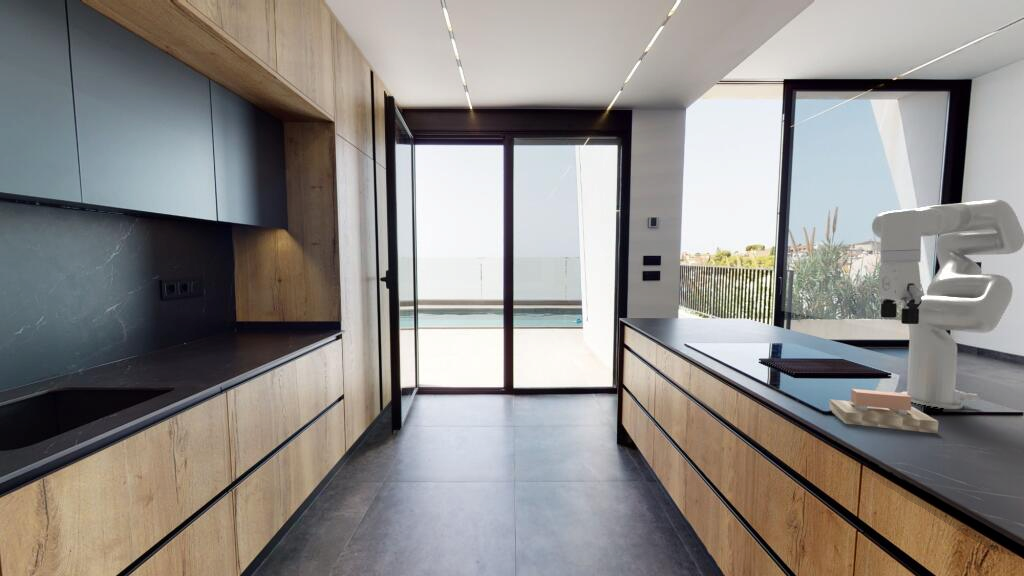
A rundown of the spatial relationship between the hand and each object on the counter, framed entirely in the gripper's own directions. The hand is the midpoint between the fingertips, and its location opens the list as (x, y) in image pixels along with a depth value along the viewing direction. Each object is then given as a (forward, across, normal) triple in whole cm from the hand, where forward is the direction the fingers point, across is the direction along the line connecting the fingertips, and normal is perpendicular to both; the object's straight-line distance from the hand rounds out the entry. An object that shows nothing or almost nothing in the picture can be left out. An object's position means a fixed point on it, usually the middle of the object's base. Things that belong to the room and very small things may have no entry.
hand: (898, 320), depth 103 cm
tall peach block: (+25, +8, -7) cm, 28 cm away
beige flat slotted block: (+25, +8, -7) cm, 28 cm away
